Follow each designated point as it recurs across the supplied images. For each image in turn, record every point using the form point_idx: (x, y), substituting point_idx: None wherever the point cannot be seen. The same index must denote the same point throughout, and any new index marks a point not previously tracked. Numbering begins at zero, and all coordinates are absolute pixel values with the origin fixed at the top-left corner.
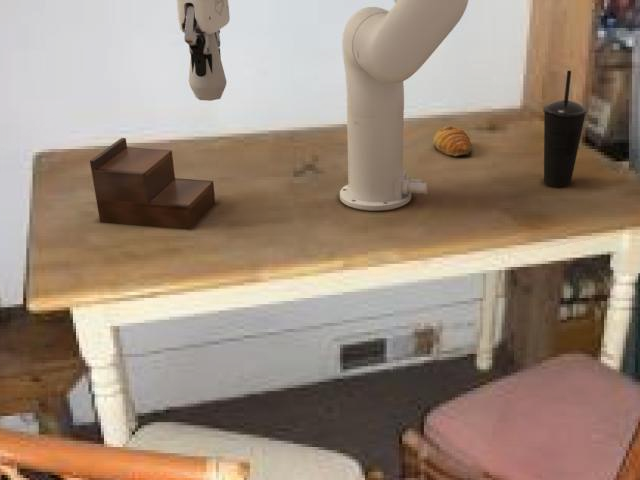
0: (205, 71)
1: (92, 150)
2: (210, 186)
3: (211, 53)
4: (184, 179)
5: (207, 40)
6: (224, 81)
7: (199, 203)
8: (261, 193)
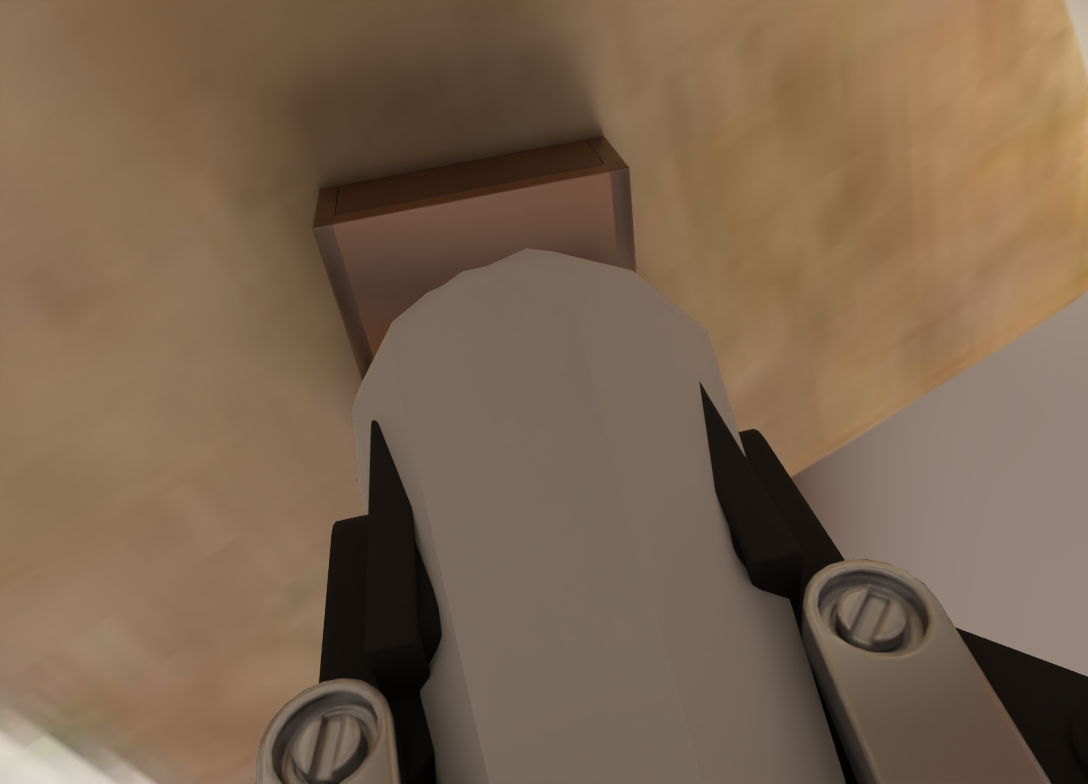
0: (764, 448)
1: (136, 758)
2: (354, 214)
3: (735, 574)
4: (359, 343)
5: (947, 765)
6: (532, 276)
7: (494, 179)
8: (96, 46)
